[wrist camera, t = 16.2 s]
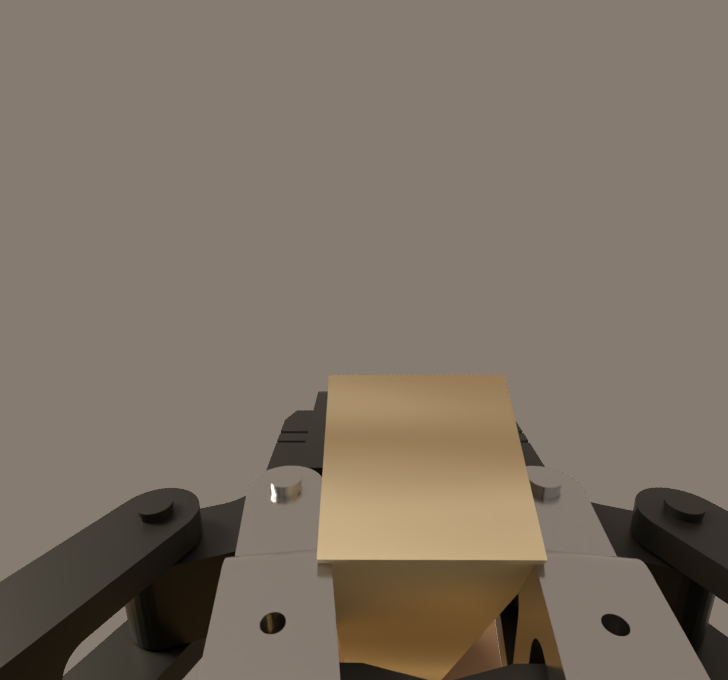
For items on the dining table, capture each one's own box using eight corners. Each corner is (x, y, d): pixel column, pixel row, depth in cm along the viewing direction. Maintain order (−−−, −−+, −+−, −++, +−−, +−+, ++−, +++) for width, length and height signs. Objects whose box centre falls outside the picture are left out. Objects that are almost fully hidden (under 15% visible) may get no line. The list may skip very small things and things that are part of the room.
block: (758, 561, 5) (607, 260, 8) (110, 558, 5) (210, 262, 9) (466, 709, 21) (453, 585, 24) (306, 708, 21) (314, 584, 24)
